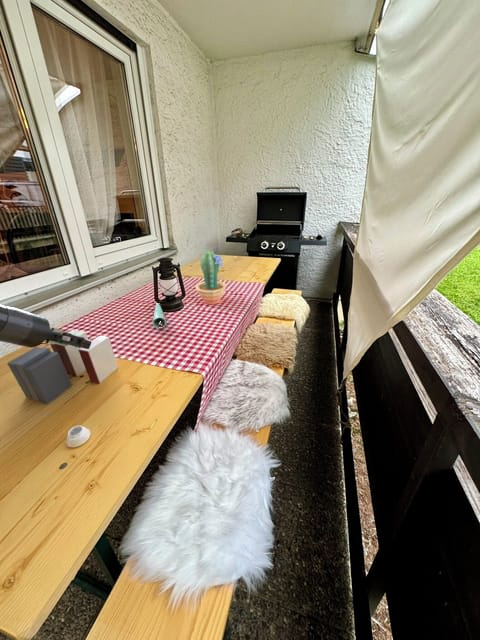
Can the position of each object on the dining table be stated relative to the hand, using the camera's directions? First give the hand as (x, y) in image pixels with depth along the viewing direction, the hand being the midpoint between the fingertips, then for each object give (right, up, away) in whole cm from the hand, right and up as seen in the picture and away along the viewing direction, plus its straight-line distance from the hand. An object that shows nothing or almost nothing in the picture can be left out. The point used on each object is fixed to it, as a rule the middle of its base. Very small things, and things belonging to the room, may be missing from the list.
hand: (77, 342), depth 72 cm
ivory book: (+2, -11, +11) cm, 16 cm away
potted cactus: (+31, +16, +61) cm, 70 cm away
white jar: (+7, -22, -10) cm, 25 cm away
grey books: (-11, -15, +5) cm, 19 cm away
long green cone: (+8, +8, +47) cm, 49 cm away
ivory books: (-8, -9, +14) cm, 19 cm away
